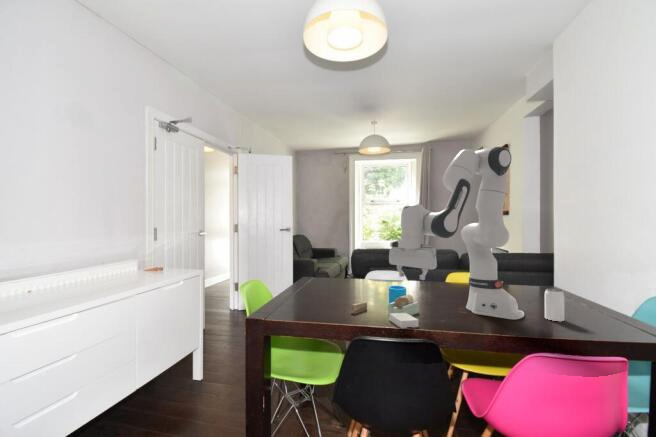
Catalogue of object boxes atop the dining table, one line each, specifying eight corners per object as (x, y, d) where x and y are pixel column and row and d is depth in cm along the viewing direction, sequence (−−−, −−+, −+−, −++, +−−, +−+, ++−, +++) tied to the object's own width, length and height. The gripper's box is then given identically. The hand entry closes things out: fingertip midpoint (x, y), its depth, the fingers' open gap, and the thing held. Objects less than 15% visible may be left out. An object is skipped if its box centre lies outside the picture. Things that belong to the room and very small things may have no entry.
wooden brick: (366, 310, 138) (367, 302, 138) (355, 313, 132) (355, 305, 132) (363, 309, 139) (363, 301, 139) (351, 312, 133) (351, 304, 133)
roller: (413, 306, 134) (414, 296, 134) (403, 309, 128) (404, 299, 128) (404, 303, 137) (405, 293, 137) (394, 306, 132) (395, 296, 131)
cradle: (418, 312, 134) (418, 302, 134) (404, 318, 126) (404, 307, 126) (402, 308, 140) (402, 298, 140) (388, 314, 132) (388, 303, 132)
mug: (408, 307, 143) (408, 289, 143) (390, 307, 143) (390, 289, 143) (402, 300, 155) (402, 284, 155) (385, 300, 155) (385, 284, 155)
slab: (418, 327, 116) (418, 319, 116) (401, 329, 114) (401, 321, 114) (405, 319, 125) (404, 312, 126) (389, 321, 124) (389, 313, 124)
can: (559, 323, 120) (558, 292, 121) (541, 318, 126) (541, 289, 126) (567, 320, 123) (567, 290, 124) (550, 316, 129) (549, 287, 129)
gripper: (440, 245, 120) (439, 280, 120) (395, 242, 135) (395, 274, 135) (431, 245, 116) (431, 282, 115) (386, 242, 131) (386, 275, 130)
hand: (411, 278), depth 125 cm, fingers open, 8 cm apart
